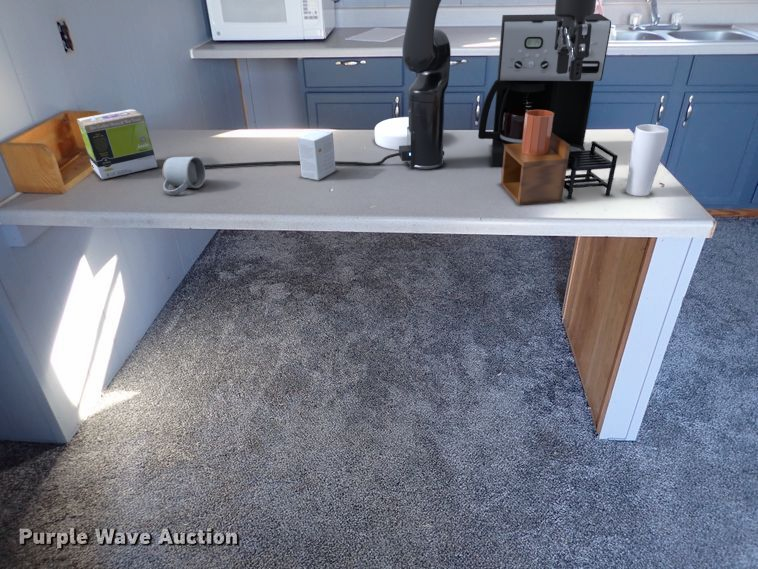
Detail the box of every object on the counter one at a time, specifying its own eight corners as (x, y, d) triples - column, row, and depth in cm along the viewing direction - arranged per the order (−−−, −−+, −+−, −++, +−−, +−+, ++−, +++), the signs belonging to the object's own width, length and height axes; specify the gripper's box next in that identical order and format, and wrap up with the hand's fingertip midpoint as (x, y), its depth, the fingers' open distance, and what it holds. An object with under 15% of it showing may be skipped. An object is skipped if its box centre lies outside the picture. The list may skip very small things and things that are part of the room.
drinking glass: (634, 200, 123) (649, 134, 116) (615, 189, 129) (628, 125, 121) (659, 196, 125) (676, 130, 117) (640, 186, 130) (654, 122, 123)
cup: (527, 156, 121) (531, 117, 116) (517, 148, 126) (521, 110, 121) (553, 154, 121) (558, 115, 117) (542, 146, 126) (547, 109, 122)
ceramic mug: (180, 179, 143) (173, 150, 139) (208, 181, 141) (202, 152, 137) (156, 195, 134) (148, 165, 130) (185, 197, 132) (178, 167, 128)
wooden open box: (519, 205, 123) (525, 148, 116) (500, 184, 134) (505, 131, 127) (561, 201, 124) (570, 145, 117) (539, 181, 135) (546, 128, 128)
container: (443, 149, 159) (444, 133, 156) (375, 151, 159) (374, 135, 156) (436, 129, 176) (437, 115, 173) (374, 131, 176) (374, 117, 173)
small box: (319, 168, 148) (315, 129, 142) (336, 171, 145) (333, 131, 140) (301, 177, 142) (296, 137, 136) (318, 180, 139) (314, 140, 134)
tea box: (147, 159, 158) (134, 107, 151) (158, 168, 151) (145, 114, 144) (92, 171, 151) (75, 116, 143) (101, 180, 144) (83, 124, 136)
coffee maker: (476, 166, 145) (485, 21, 127) (477, 144, 161) (486, 13, 143) (586, 170, 140) (613, 20, 122) (576, 147, 157) (599, 11, 138)
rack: (568, 199, 125) (574, 158, 120) (549, 182, 134) (554, 143, 129) (609, 196, 126) (618, 155, 121) (588, 179, 135) (594, 141, 130)
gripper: (547, -11, 112) (540, 72, 120) (569, -10, 99) (560, 83, 107) (583, -14, 112) (574, 70, 120) (610, -13, 99) (598, 81, 107)
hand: (568, 76), depth 113 cm, fingers open, 8 cm apart
